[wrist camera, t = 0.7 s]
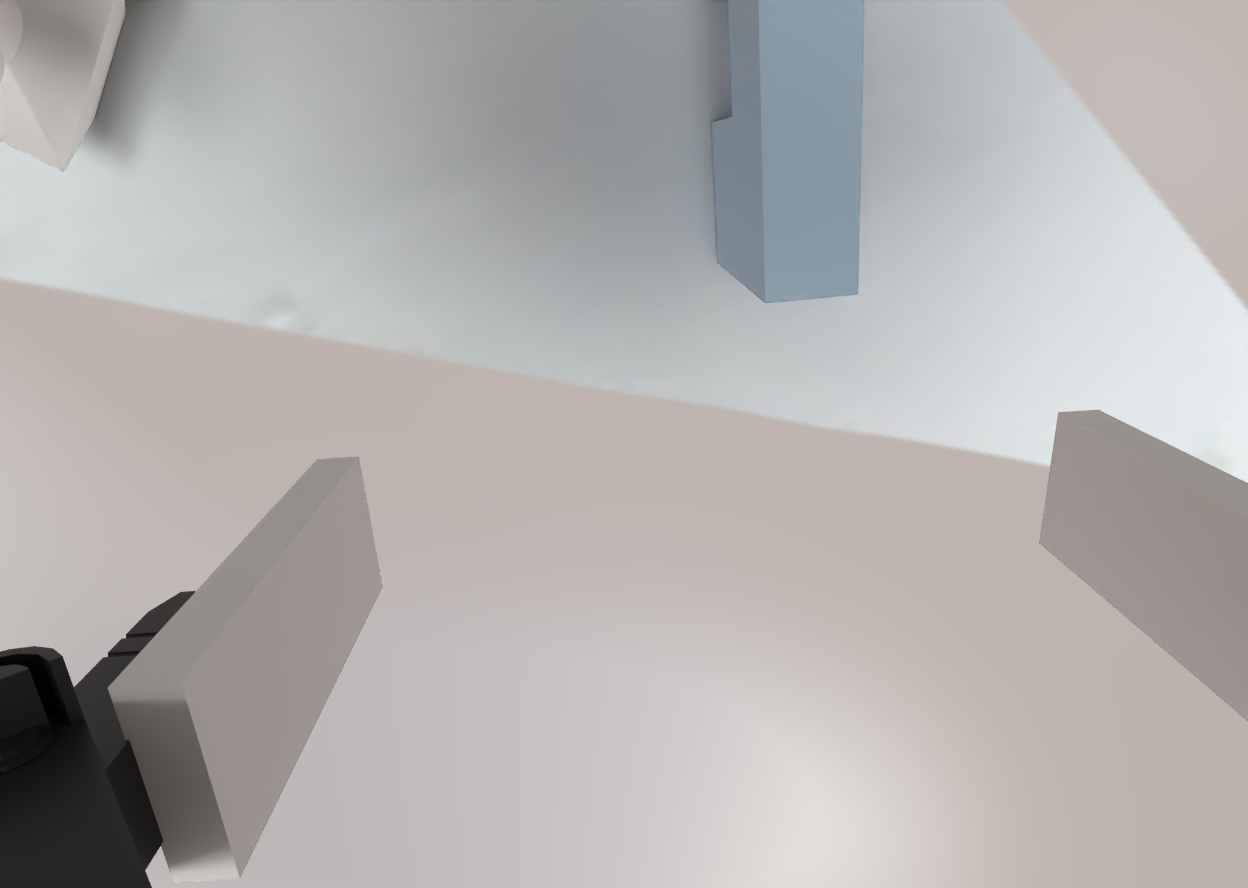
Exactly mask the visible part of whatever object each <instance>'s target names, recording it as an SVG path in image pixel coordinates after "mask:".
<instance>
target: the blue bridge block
mask: <svg viewBox="0 0 1248 888" xmlns="http://www.w3.org/2000/svg"><path fill="white" fill-rule="evenodd" d="M863 13H864V0H728V19H729V48H730V77H731V106H732V117H730V118H726V119H722V120H718V121H715V122H711V129H712V153H713V176H714V199H715V222H716V245H717V263H718V264H719V265H721V266H722V267H723V268H724V269H725V270H727V271H728V272H729V273H730V274H731V275H733V276H734V277H735V278H736V279H737V280H738V281H740V282H741V283H742V284H743V285H744V286H746V287H747V288H748V289H749V290H750V291H751V292H753V293H754V294H755V295H756V296H757V297H759V298H760V299H761V300H762V301H763V302H764V303H772V302H783V301H793V300H804V299H815V298H825V297H836V296H846V295H857V294H858V263H859V213H860V163H861V113H862V63H863Z"/></svg>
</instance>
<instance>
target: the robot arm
mask: <svg viewBox="0 0 1248 888" xmlns="http://www.w3.org/2000/svg"><path fill="white" fill-rule="evenodd" d="M1039 543H1040V544H1041V545H1042V546H1043V547H1044V548H1045V549H1047V550H1048V551H1049V552H1050V553H1051V554H1052V555H1054V556H1055V557H1056V558H1057V559H1058V560H1060V561H1061V562H1062V563H1063V564H1064V565H1065V566H1067V567H1068V568H1069V569H1070V570H1071V571H1072V572H1073V573H1075V574H1076V575H1077V576H1078V577H1079V578H1081V579H1082V580H1083V581H1084V582H1085V583H1086V584H1088V585H1089V586H1090V587H1091V588H1092V589H1094V590H1095V591H1096V592H1097V593H1098V594H1099V595H1100V596H1102V597H1103V598H1104V599H1105V600H1106V601H1107V602H1109V603H1110V604H1111V605H1112V606H1113V607H1114V608H1116V609H1117V610H1118V611H1119V612H1120V613H1122V614H1123V615H1124V616H1125V617H1126V618H1127V619H1128V620H1130V621H1131V622H1132V623H1133V624H1134V625H1136V626H1137V627H1138V628H1139V629H1140V630H1141V631H1143V632H1144V633H1145V634H1146V635H1147V636H1148V637H1150V638H1151V639H1152V640H1153V641H1154V642H1155V643H1157V644H1158V645H1159V646H1160V647H1161V648H1163V649H1164V650H1165V651H1166V652H1167V653H1168V654H1169V655H1171V656H1172V657H1173V658H1174V659H1175V660H1177V661H1178V662H1179V663H1180V664H1181V665H1182V666H1184V667H1185V668H1186V669H1187V670H1188V671H1189V672H1191V673H1192V674H1193V675H1194V676H1195V677H1196V678H1198V679H1199V680H1200V681H1201V682H1202V683H1203V684H1205V685H1206V686H1207V687H1208V688H1209V689H1211V690H1212V691H1213V692H1214V693H1215V694H1216V695H1217V696H1219V697H1220V698H1221V699H1222V700H1223V701H1224V702H1226V703H1227V704H1228V705H1229V706H1230V707H1232V708H1233V709H1234V710H1235V711H1236V712H1237V713H1239V714H1240V715H1241V716H1242V717H1243V718H1244V719H1246V720H1247V721H1248V483H1246V482H1244V481H1242V480H1240V479H1238V478H1236V477H1234V476H1232V475H1230V474H1228V473H1226V472H1224V471H1222V470H1220V469H1218V468H1216V467H1214V466H1211V465H1209V464H1207V463H1205V462H1203V461H1201V460H1199V459H1197V458H1195V457H1193V456H1191V455H1189V454H1187V453H1185V452H1183V451H1181V450H1179V449H1177V448H1175V447H1173V446H1171V445H1169V444H1167V443H1165V442H1163V441H1161V440H1159V439H1157V438H1155V437H1152V436H1150V435H1148V434H1146V433H1144V432H1142V431H1140V430H1138V429H1136V428H1134V427H1132V426H1130V425H1128V424H1126V423H1124V422H1122V421H1120V420H1118V419H1116V418H1114V417H1112V416H1110V415H1108V414H1106V413H1104V412H1102V411H1100V410H1089V411H1073V412H1058V418H1057V425H1056V432H1055V438H1054V445H1053V452H1052V459H1051V466H1050V473H1049V480H1048V486H1047V493H1046V500H1045V507H1044V513H1043V520H1042V527H1041V534H1040V541H1039ZM382 587H383V586H382V582H381V576H380V570H379V565H378V560H377V553H376V549H375V542H374V537H373V531H372V526H371V521H370V515H369V510H368V504H367V499H366V493H365V488H364V483H363V477H362V471H361V466H360V460H359V457H346V458H329V459H317V460H316V461H315V462H314V463H313V465H312V466H311V467H310V468H309V469H308V470H307V471H306V472H305V473H304V474H303V475H302V476H301V478H300V479H299V480H298V481H297V482H296V483H295V484H294V485H293V486H292V487H291V489H290V490H289V491H288V492H287V493H286V494H285V495H284V496H283V497H282V498H281V499H280V501H278V503H277V504H276V505H275V506H274V507H273V508H272V509H271V510H270V511H269V512H268V513H267V515H266V516H265V517H264V518H263V519H262V520H261V521H260V522H259V523H258V524H257V526H256V527H255V528H254V529H253V530H252V531H251V532H250V533H249V534H248V536H246V537H245V539H244V540H243V541H242V542H241V543H240V544H239V545H238V546H237V547H236V548H235V549H234V551H233V552H232V553H231V554H230V555H229V556H228V557H227V558H226V559H225V560H224V562H223V563H222V564H221V565H220V566H219V567H218V568H217V569H216V570H215V571H214V572H213V573H212V574H211V576H210V577H209V578H208V579H207V580H206V581H205V582H204V583H203V584H202V586H200V588H199V589H198V590H197V591H190V592H180V593H179V594H177V595H175V596H174V597H172V598H170V599H169V600H167V601H165V602H164V603H162V604H160V605H159V606H157V607H156V608H154V609H152V610H151V611H149V612H148V613H147V614H146V615H145V616H144V617H143V618H142V619H141V620H140V621H139V622H138V623H137V624H136V625H135V626H134V627H133V628H132V629H131V630H130V631H129V632H128V633H127V634H126V638H125V639H121V640H120V641H119V642H118V643H117V644H116V645H115V646H114V647H113V648H112V649H111V650H110V651H109V652H108V657H105V658H102V660H100V661H99V663H98V664H97V665H96V666H95V667H94V668H93V669H92V670H91V671H90V672H89V673H88V674H87V675H86V676H85V677H84V678H83V679H82V680H81V681H80V682H79V683H78V684H77V685H76V686H75V687H73V684H72V682H71V679H70V676H69V673H68V670H67V668H66V665H65V662H64V659H63V656H61V655H60V654H59V653H58V652H57V651H55V650H54V649H52V648H44V647H36V646H33V647H26V648H18V649H10V650H6V651H2V652H0V888H152V887H151V885H150V882H149V880H148V877H147V874H146V872H145V870H146V868H147V867H148V865H149V863H150V862H151V860H152V859H153V857H154V855H155V854H156V852H157V850H158V849H159V847H160V846H161V847H162V850H163V852H164V855H165V858H166V861H167V864H168V867H169V870H170V873H171V876H172V879H173V882H174V883H182V882H196V881H210V880H223V879H237V878H240V877H241V875H242V873H243V871H244V869H245V867H246V864H247V863H248V860H249V858H250V856H251V854H252V852H253V850H254V848H255V846H256V844H257V842H258V840H259V838H260V836H261V834H262V832H263V830H264V828H265V826H266V824H267V822H268V820H269V817H270V815H271V814H272V812H273V809H274V807H275V805H276V803H277V801H278V799H279V797H280V795H281V793H282V791H283V789H284V787H285V785H286V783H287V781H288V779H289V777H290V775H291V773H292V770H293V768H294V766H295V765H296V762H297V760H298V758H299V756H300V754H301V752H302V750H303V748H304V746H305V744H306V742H307V740H308V738H309V736H310V734H311V732H312V729H313V728H314V726H315V724H316V722H317V720H318V718H319V715H320V713H321V711H322V709H323V707H324V705H325V703H326V701H327V699H328V697H329V695H330V693H331V691H332V689H333V687H334V685H335V683H336V681H337V679H338V677H339V674H340V673H341V671H342V668H343V666H344V664H345V662H346V660H347V658H348V656H349V654H350V652H351V650H352V648H353V646H354V644H355V642H356V640H357V638H358V636H359V634H360V631H361V630H362V628H363V626H364V624H365V622H366V619H367V618H368V616H369V613H370V611H371V609H372V607H373V605H374V603H375V601H376V599H377V597H378V595H379V593H380V591H381V589H382Z"/></svg>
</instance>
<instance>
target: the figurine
mask: <svg viewBox="0 0 1248 888" xmlns="http://www.w3.org/2000/svg"><path fill="white" fill-rule="evenodd" d="M125 14H126V9H125V1H124V0H0V141H1V142H4V143H6V144H8V145H10V146H12V147H14V148H16V149H18V150H20V151H22V152H24V153H26V154H28V155H30V156H32V157H34V158H36V159H38V160H40V161H42V162H44V163H46V164H48V165H50V166H52V167H54V168H56V169H58V170H60V171H62V172H64V171H65V169H66V168H67V166H68V164H69V162H70V161H71V159H72V157H73V155H74V154H75V152H76V150H77V148H78V147H79V145H80V143H81V141H82V139H83V138H84V136H85V134H86V132H87V131H88V129H89V127H90V125H91V124H92V122H93V120H94V118H95V115H96V111H97V108H98V105H99V101H100V98H101V95H102V91H103V88H104V84H105V81H106V78H107V74H108V71H109V68H110V64H111V61H112V57H113V54H114V51H115V47H116V44H117V41H118V37H119V34H120V30H121V27H122V24H123V20H124V17H125Z"/></svg>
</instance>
